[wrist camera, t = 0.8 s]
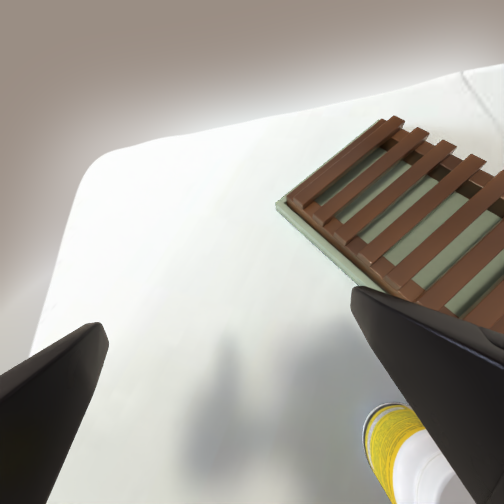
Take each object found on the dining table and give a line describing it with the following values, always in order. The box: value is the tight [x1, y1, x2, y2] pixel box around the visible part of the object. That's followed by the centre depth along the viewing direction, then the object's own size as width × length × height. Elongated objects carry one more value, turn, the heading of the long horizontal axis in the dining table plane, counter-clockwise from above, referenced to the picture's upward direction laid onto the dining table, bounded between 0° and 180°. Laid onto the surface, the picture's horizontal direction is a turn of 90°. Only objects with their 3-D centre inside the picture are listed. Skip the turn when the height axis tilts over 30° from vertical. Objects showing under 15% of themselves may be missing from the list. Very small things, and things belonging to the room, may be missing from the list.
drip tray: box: [275, 120, 504, 317], centre depth 19 cm, size 18×14×1 cm
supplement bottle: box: [362, 403, 476, 504], centre depth 11 cm, size 5×5×8 cm
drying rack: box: [286, 116, 504, 334], centre depth 18 cm, size 17×12×2 cm
